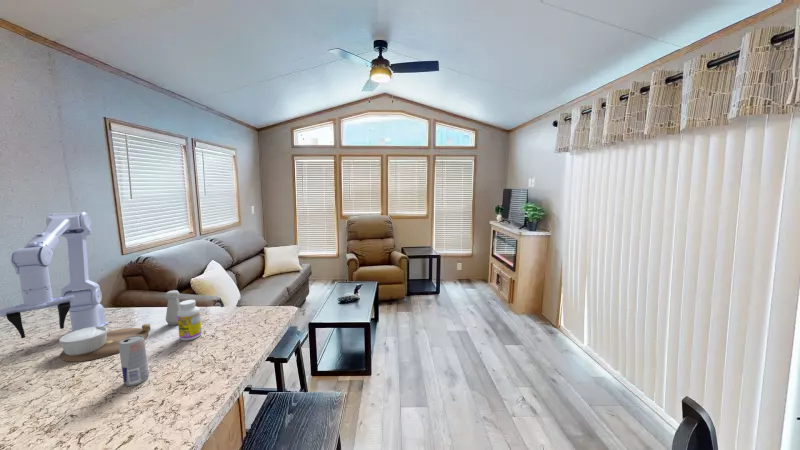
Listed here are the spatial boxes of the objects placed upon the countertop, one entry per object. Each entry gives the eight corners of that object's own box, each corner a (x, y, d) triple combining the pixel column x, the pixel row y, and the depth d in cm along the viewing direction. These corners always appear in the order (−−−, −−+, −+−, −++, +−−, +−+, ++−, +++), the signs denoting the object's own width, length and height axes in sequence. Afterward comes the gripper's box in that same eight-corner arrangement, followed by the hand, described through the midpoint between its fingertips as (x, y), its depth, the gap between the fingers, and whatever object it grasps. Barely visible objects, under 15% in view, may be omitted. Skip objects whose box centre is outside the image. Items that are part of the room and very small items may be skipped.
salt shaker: (175, 327, 120) (171, 294, 119) (162, 326, 121) (158, 293, 120) (188, 320, 126) (184, 289, 124) (176, 319, 127) (172, 288, 125)
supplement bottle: (175, 339, 111) (171, 304, 109) (193, 331, 117) (190, 297, 115) (188, 342, 109) (184, 306, 107) (206, 334, 115) (203, 299, 113)
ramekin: (117, 343, 108) (115, 328, 107) (75, 360, 98) (72, 344, 97) (96, 338, 112) (94, 324, 111) (53, 354, 101) (50, 339, 100)
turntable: (94, 331, 117) (93, 325, 117) (161, 326, 121) (160, 320, 121) (38, 365, 96) (37, 358, 96) (121, 357, 100) (120, 350, 99)
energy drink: (133, 375, 90) (128, 335, 89) (153, 374, 91) (148, 334, 89) (118, 387, 85) (112, 344, 84) (140, 385, 86) (134, 343, 84)
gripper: (-4, 297, 85) (4, 345, 87) (73, 284, 96) (79, 327, 98) (-4, 292, 90) (4, 338, 91) (70, 280, 101) (76, 321, 102)
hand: (43, 332), depth 95 cm, fingers open, 7 cm apart
